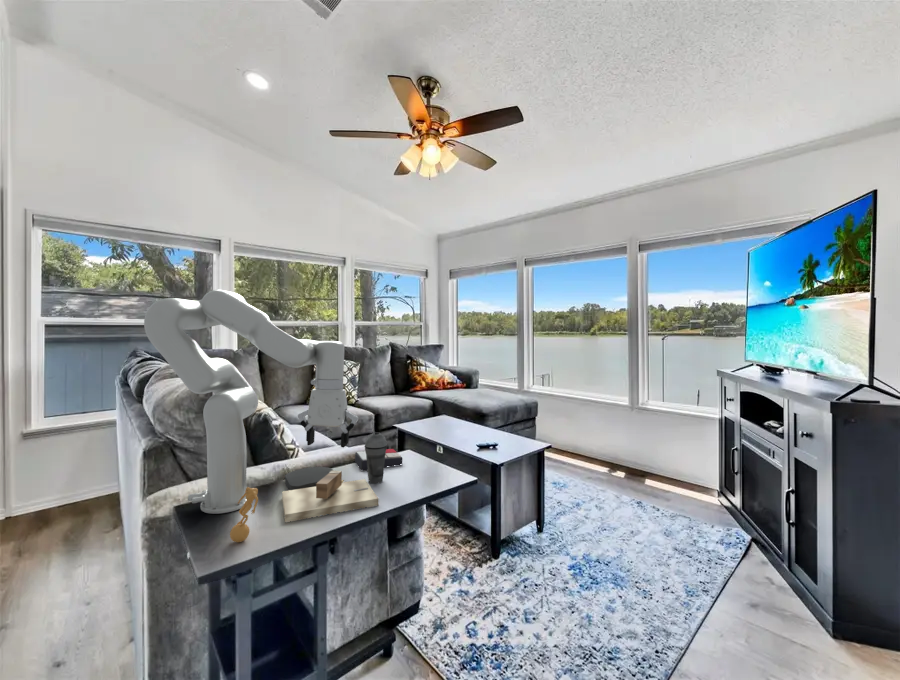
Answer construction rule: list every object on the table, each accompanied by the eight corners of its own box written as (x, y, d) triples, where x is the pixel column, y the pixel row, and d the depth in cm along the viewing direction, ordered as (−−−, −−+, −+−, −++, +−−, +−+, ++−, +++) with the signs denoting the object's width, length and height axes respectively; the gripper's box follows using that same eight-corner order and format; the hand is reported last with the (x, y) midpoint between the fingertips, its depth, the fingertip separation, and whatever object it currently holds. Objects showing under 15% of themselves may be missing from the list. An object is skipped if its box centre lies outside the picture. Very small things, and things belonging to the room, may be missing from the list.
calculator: (403, 455, 145) (361, 458, 139) (402, 467, 145) (361, 471, 139) (394, 447, 155) (355, 450, 149) (393, 458, 155) (354, 461, 149)
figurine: (223, 538, 93) (223, 487, 93) (250, 528, 97) (250, 480, 97) (237, 551, 87) (237, 497, 87) (265, 540, 92) (265, 489, 92)
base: (285, 522, 101) (285, 514, 101) (281, 496, 117) (281, 488, 117) (378, 505, 111) (378, 497, 111) (363, 483, 127) (363, 476, 127)
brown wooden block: (326, 502, 108) (326, 483, 108) (316, 501, 108) (316, 483, 108) (341, 487, 118) (341, 470, 118) (331, 487, 118) (331, 470, 118)
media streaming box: (283, 479, 131) (283, 470, 131) (328, 472, 138) (328, 463, 138) (290, 495, 118) (290, 485, 118) (339, 486, 125) (340, 476, 125)
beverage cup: (384, 485, 125) (385, 422, 125) (361, 485, 125) (362, 422, 125) (388, 477, 132) (389, 417, 132) (367, 476, 133) (367, 417, 132)
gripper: (293, 384, 109) (291, 447, 110) (355, 388, 108) (352, 450, 108) (305, 381, 117) (303, 439, 117) (363, 384, 115) (361, 443, 116)
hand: (327, 445), depth 113 cm, fingers open, 9 cm apart
